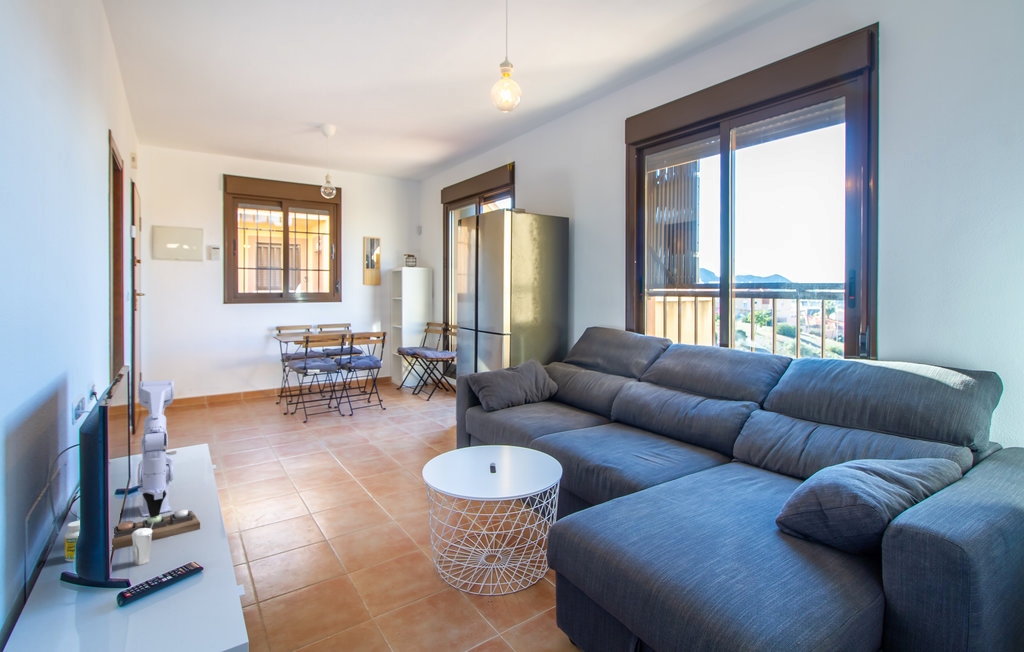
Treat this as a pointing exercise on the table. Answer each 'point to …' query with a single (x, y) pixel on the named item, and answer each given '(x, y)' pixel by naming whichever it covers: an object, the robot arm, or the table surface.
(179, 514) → the grey button
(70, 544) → the supplement bottle
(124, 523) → the terracotta button
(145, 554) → the milkshake
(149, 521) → the sage button
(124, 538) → the button board
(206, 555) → the table surface
